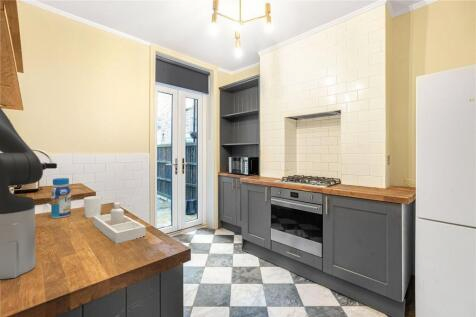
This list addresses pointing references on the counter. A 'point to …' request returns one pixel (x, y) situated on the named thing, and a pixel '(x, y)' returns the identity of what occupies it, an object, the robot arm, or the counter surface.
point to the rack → (119, 228)
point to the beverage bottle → (60, 198)
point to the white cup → (92, 206)
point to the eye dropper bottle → (117, 214)
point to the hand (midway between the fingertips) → (51, 166)
